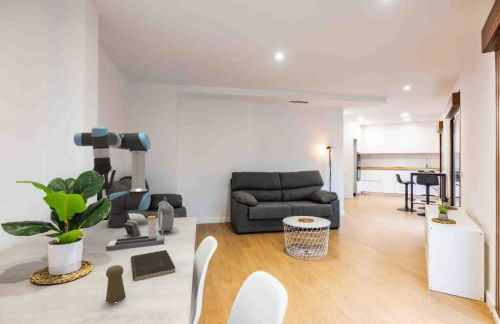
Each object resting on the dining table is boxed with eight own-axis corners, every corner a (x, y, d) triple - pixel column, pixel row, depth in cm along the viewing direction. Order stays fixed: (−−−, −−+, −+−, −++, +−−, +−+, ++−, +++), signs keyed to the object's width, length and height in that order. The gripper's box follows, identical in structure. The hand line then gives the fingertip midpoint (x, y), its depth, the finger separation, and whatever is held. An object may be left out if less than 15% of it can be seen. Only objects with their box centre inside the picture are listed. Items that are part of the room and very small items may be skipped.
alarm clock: (156, 229, 169) (155, 196, 169) (170, 227, 173) (169, 194, 172) (160, 236, 155) (159, 199, 154) (175, 233, 159) (174, 198, 158)
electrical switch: (141, 235, 157) (139, 220, 156) (133, 238, 153) (131, 223, 152) (132, 233, 162) (130, 218, 161) (124, 236, 158) (122, 221, 157)
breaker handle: (149, 237, 145) (148, 216, 144) (156, 237, 146) (155, 215, 146) (148, 239, 141) (147, 217, 141) (155, 239, 142) (155, 217, 142)
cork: (127, 299, 87) (126, 267, 87) (106, 306, 83) (105, 272, 83) (124, 292, 92) (122, 261, 92) (104, 297, 88) (103, 266, 88)
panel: (110, 244, 142) (110, 239, 142) (163, 238, 150) (163, 233, 150) (106, 250, 132) (106, 245, 132) (163, 244, 141) (163, 238, 141)
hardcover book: (166, 254, 128) (166, 249, 128) (175, 273, 107) (175, 267, 107) (130, 261, 120) (130, 256, 120) (133, 282, 100) (133, 276, 100)
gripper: (85, 158, 129) (88, 204, 131) (113, 156, 132) (117, 202, 134) (90, 157, 136) (93, 201, 138) (117, 156, 140) (120, 199, 141)
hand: (105, 201), depth 136 cm, fingers closed
